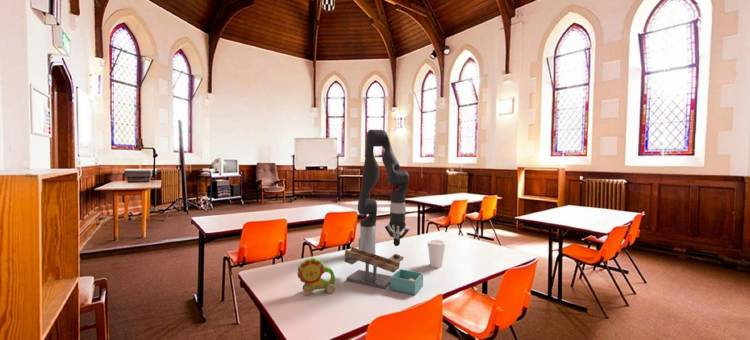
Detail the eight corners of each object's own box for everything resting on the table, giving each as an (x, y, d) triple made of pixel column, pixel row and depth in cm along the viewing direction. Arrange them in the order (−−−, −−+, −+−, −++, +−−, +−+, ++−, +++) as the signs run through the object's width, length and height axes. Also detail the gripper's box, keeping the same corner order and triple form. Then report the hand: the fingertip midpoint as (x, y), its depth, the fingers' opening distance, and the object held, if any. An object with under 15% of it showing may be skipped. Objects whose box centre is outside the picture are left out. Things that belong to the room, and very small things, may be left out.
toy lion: (333, 288, 145) (333, 254, 144) (335, 293, 139) (335, 258, 139) (297, 291, 140) (297, 257, 140) (297, 297, 135) (297, 261, 134)
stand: (346, 280, 153) (346, 260, 152) (358, 272, 164) (359, 253, 163) (384, 289, 144) (385, 267, 144) (395, 280, 155) (395, 259, 154)
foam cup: (443, 263, 180) (444, 240, 179) (445, 269, 171) (446, 244, 170) (426, 262, 181) (427, 239, 180) (427, 268, 172) (428, 244, 171)
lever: (343, 261, 156) (345, 250, 156) (361, 251, 173) (363, 241, 172) (392, 279, 145) (394, 266, 145) (406, 266, 162) (408, 255, 161)
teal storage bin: (390, 290, 143) (391, 276, 143) (400, 281, 153) (400, 268, 153) (414, 295, 138) (415, 281, 138) (422, 285, 149) (423, 273, 148)
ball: (408, 278, 143) (415, 284, 142) (411, 275, 147) (418, 280, 146) (403, 285, 144) (411, 291, 143) (406, 282, 148) (414, 287, 147)
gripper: (382, 211, 159) (381, 245, 160) (407, 214, 153) (406, 249, 154) (388, 208, 166) (387, 241, 167) (412, 211, 160) (411, 245, 161)
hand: (396, 245), depth 161 cm, fingers closed
